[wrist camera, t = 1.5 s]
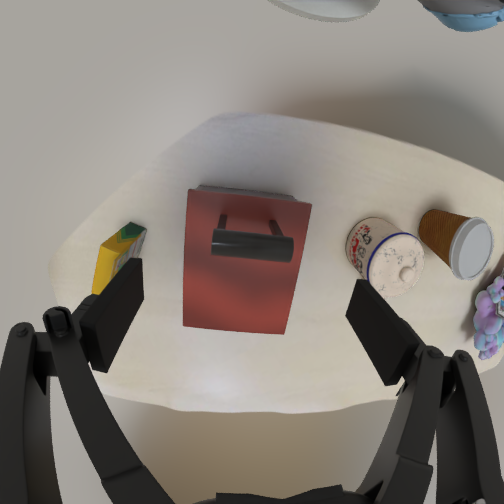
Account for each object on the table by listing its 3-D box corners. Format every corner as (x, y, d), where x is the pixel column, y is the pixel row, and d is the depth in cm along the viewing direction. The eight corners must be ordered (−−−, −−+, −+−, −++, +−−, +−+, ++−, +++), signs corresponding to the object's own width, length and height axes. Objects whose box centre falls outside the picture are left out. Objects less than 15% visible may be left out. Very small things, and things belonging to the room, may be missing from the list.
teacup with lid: (349, 212, 38) (388, 238, 27) (398, 218, 39) (443, 243, 28) (335, 286, 42) (363, 329, 32) (383, 286, 43) (417, 324, 32)
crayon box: (129, 220, 37) (93, 249, 26) (147, 228, 37) (116, 260, 27) (117, 263, 39) (84, 301, 28) (134, 270, 40) (105, 311, 29)
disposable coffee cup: (454, 203, 38) (500, 222, 27) (443, 253, 42) (485, 281, 30) (416, 197, 38) (465, 216, 26) (406, 252, 41) (448, 284, 30)
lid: (189, 188, 27) (167, 207, 18) (310, 203, 28) (341, 227, 20) (183, 322, 33) (170, 375, 24) (283, 330, 34) (296, 384, 25)
